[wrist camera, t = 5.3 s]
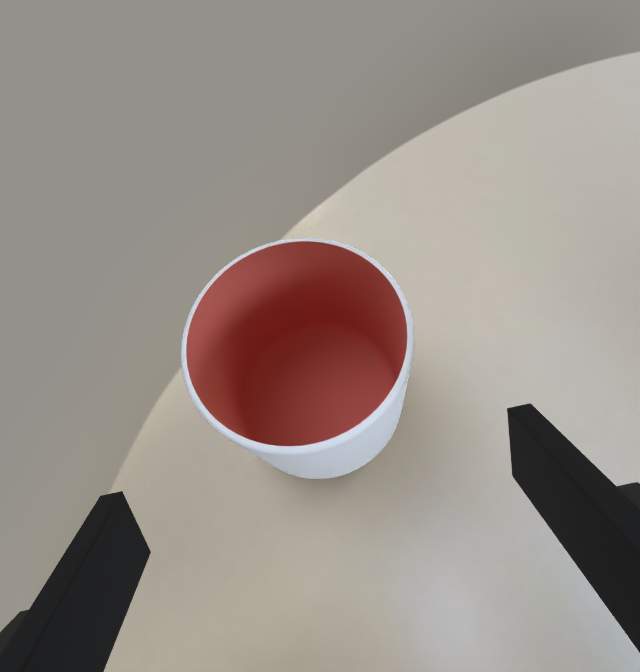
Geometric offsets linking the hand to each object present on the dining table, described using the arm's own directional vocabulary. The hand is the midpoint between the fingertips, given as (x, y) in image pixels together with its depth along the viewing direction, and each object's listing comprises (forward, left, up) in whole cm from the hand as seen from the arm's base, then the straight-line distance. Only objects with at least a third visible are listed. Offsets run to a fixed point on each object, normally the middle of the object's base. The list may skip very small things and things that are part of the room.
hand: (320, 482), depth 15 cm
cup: (-2, +6, -11) cm, 13 cm away
